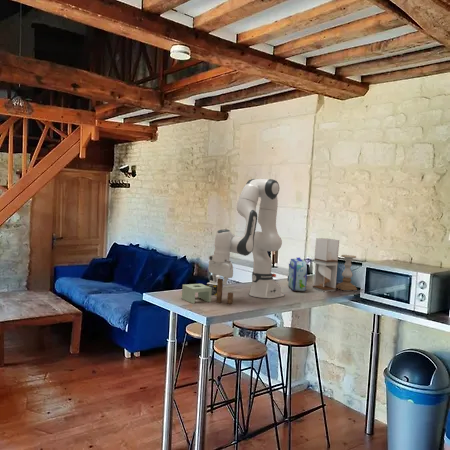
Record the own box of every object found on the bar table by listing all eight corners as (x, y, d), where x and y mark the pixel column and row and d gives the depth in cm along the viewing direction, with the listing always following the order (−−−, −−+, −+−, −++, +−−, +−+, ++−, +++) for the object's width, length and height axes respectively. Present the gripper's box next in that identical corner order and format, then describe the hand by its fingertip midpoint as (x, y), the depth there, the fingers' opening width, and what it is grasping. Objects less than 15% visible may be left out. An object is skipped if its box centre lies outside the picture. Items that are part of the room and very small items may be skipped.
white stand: (312, 288, 308) (316, 238, 306) (323, 287, 314) (327, 238, 312) (323, 291, 298) (327, 240, 296) (335, 291, 304) (339, 240, 302)
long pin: (219, 301, 251) (221, 278, 250) (222, 302, 248) (224, 279, 248) (215, 301, 249) (216, 278, 248) (218, 303, 247) (219, 279, 246)
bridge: (200, 297, 258) (200, 283, 258) (210, 301, 248) (211, 287, 248) (181, 298, 252) (182, 284, 251) (192, 303, 242) (193, 288, 241)
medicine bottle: (206, 294, 266) (207, 274, 266) (210, 292, 273) (212, 273, 272) (217, 296, 264) (218, 276, 263) (221, 294, 270) (222, 274, 270)
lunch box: (286, 285, 316) (288, 255, 315) (301, 286, 315) (303, 256, 314) (290, 292, 290) (292, 260, 289) (307, 293, 289) (309, 261, 288)
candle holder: (357, 291, 309) (359, 257, 307) (342, 291, 306) (345, 256, 305) (349, 288, 319) (351, 254, 318) (335, 287, 317) (337, 254, 315)
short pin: (230, 302, 249) (231, 292, 249) (233, 304, 246) (234, 293, 246) (226, 303, 247) (226, 292, 247) (229, 304, 245) (229, 293, 244)
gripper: (236, 261, 240) (234, 286, 241) (216, 256, 257) (214, 279, 258) (227, 261, 237) (225, 287, 238) (207, 256, 254) (205, 280, 255)
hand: (219, 283), depth 248 cm, fingers open, 8 cm apart
